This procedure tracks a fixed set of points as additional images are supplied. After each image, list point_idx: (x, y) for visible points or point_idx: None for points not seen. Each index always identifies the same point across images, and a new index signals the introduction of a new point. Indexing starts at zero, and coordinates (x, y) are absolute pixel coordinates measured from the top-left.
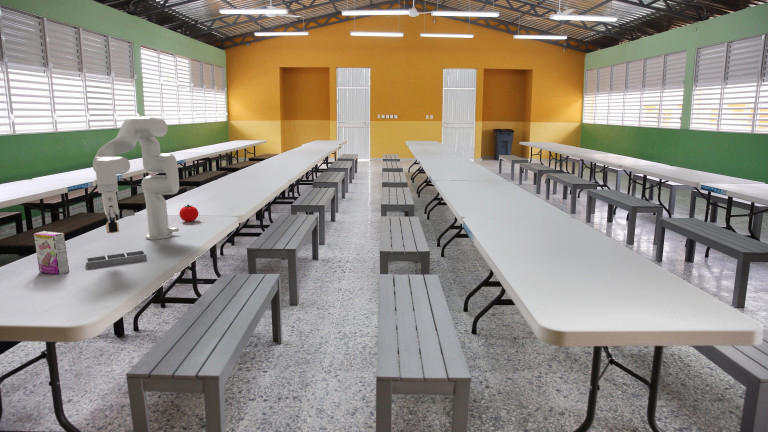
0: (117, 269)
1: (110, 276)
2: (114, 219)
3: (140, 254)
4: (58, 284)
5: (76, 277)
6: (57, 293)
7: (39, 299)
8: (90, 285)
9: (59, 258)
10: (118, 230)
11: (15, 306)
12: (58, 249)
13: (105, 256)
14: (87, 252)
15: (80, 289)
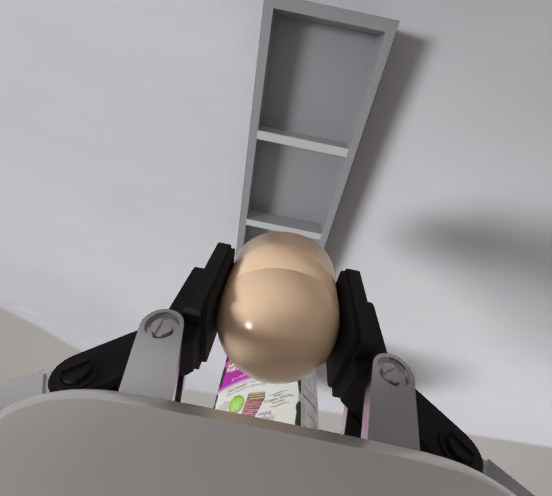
0: (419, 214)
1: (489, 260)
2: (467, 438)
3: (274, 31)
4: (408, 362)
5: (383, 324)
6: (488, 380)
7: (489, 404)
8: (516, 324)
9: (313, 387)
10: (319, 251)
11: (484, 428)
12: (314, 423)
13: (260, 227)
14: (51, 221)
15: (522, 347)
